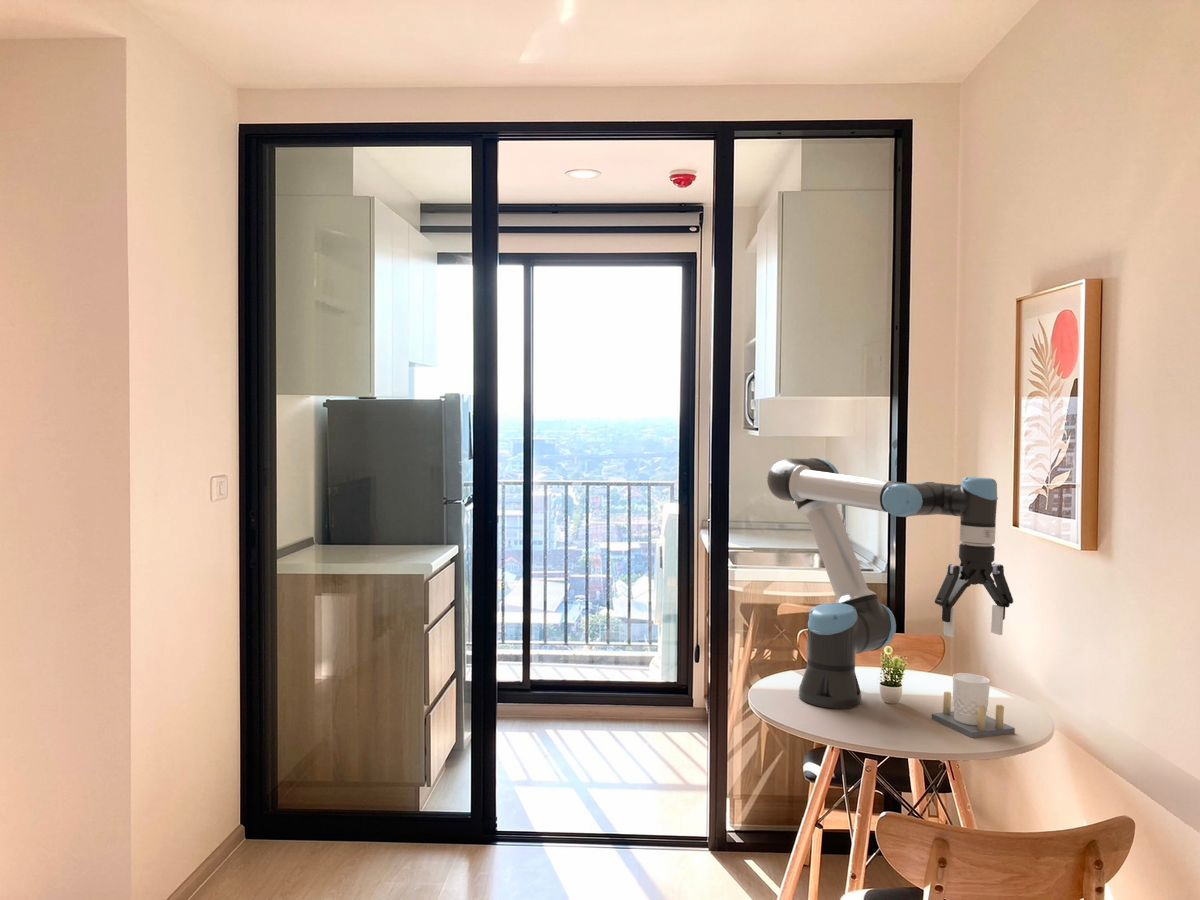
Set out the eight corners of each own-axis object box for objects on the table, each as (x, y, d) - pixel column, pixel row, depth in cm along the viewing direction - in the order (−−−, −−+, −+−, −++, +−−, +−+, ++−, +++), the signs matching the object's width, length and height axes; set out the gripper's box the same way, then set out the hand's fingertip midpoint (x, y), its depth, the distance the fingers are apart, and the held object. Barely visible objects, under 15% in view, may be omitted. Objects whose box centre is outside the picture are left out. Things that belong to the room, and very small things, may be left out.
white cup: (994, 727, 188) (996, 683, 188) (959, 726, 188) (960, 682, 188) (979, 715, 196) (981, 673, 196) (945, 714, 196) (947, 672, 196)
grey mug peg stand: (971, 737, 184) (972, 710, 184) (931, 718, 197) (932, 692, 197) (1014, 733, 188) (1015, 706, 188) (972, 714, 200) (973, 689, 200)
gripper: (943, 546, 185) (939, 641, 186) (1032, 545, 193) (1028, 636, 193) (921, 542, 193) (917, 632, 193) (1008, 541, 200) (1003, 628, 200)
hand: (972, 634), depth 193 cm, fingers open, 13 cm apart
